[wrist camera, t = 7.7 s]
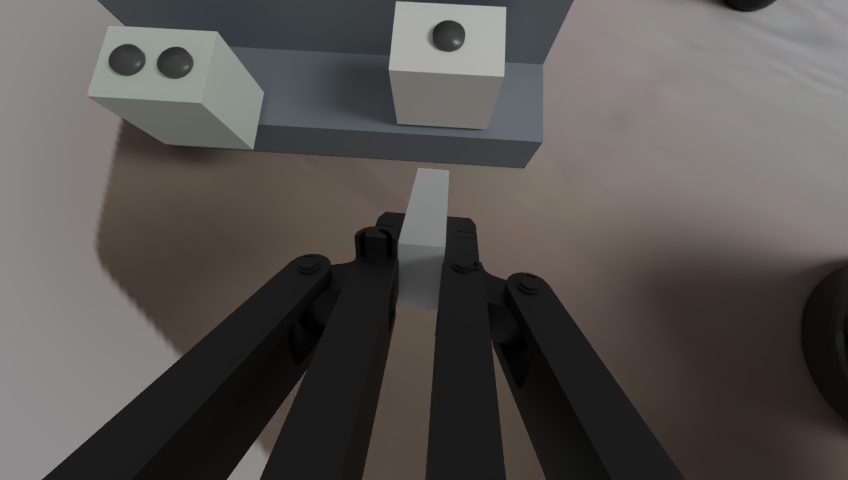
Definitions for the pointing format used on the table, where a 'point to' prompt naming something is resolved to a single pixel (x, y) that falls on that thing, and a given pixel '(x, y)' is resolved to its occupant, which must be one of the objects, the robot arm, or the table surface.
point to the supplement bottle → (749, 4)
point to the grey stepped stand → (362, 75)
